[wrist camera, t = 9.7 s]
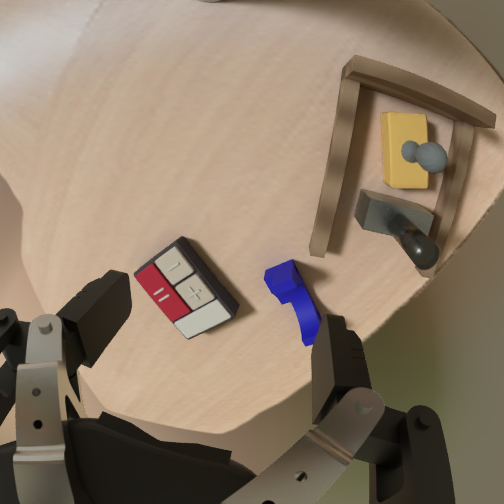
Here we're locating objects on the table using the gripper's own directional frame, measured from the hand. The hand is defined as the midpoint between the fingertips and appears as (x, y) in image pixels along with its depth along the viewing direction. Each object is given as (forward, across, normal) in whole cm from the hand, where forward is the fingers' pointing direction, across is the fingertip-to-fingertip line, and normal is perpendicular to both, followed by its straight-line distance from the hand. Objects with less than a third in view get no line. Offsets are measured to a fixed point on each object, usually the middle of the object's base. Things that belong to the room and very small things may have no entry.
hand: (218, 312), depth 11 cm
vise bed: (+30, -17, -4) cm, 35 cm away
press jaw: (+30, -17, +1) cm, 34 cm away
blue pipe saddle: (+30, -7, +18) cm, 36 cm away
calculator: (+31, +11, +20) cm, 38 cm away
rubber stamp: (+30, -17, -8) cm, 36 cm away
